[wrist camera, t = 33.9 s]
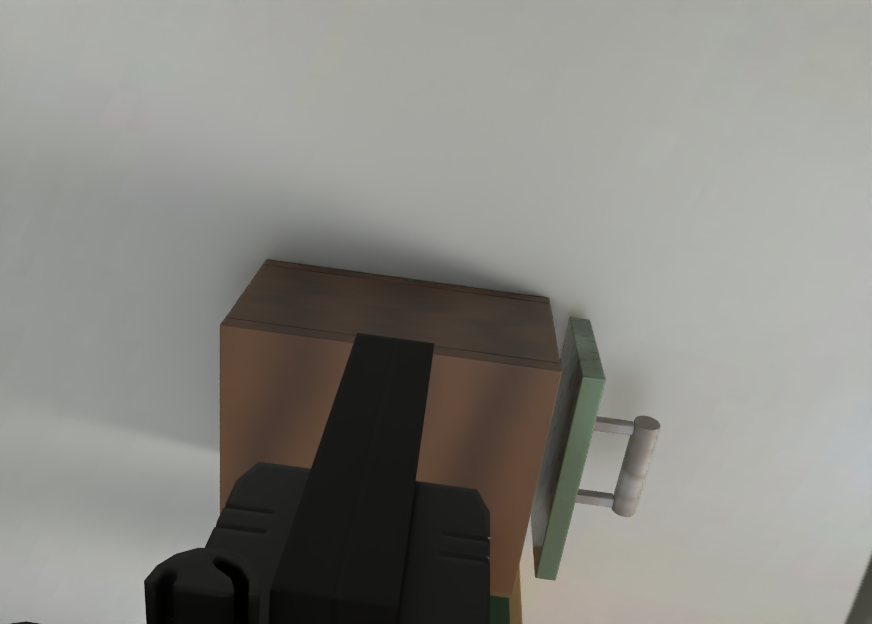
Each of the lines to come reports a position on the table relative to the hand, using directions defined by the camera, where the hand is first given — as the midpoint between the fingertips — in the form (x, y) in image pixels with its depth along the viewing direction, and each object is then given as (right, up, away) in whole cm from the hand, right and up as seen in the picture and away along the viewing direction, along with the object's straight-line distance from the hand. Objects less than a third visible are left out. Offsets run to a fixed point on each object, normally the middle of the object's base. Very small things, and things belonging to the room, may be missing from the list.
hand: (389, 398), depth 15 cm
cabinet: (-2, -3, +33) cm, 33 cm away
